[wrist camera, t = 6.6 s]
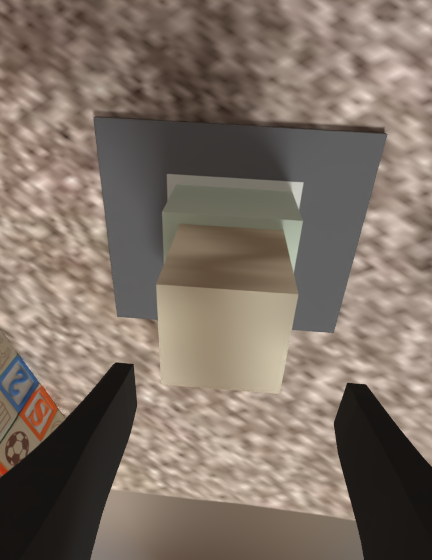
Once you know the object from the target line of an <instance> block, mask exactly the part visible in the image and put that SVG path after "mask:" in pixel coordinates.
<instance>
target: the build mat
mask: <svg viewBox="0 0 432 560" xmlns="http://www.w3.org/2000/svg"><path fill="white" fill-rule="evenodd" d="M94 126H95V134H96V143H97V151H98V159H99V168H100V176H101V184H102V193H103V201H104V209H105V218H106V226H107V234H108V243H109V251H110V259H111V268H112V276H113V284H114V293H115V301H116V309H117V317H127V318H141V319H154V320H158V311H157V291H156V284H157V281H158V278H159V276H160V273H161V271H162V268H163V265H164V253H163V225H162V211H163V209H164V207H165V205H166V203H167V201H168V200H169V198H170V196H171V194H172V192H173V190H174V188H175V186H176V185H177V184H180V185H196V186H212V187H228V188H244V189H260V190H276V191H292V192H293V195H294V198H295V200H296V203H297V206H298V209H299V211H300V214H301V217H302V220H303V224H302V229H301V235H300V241H299V246H298V252H297V257H296V263H295V269H294V277H295V282H296V286H297V290H298V300H297V305H296V310H295V315H294V321H293V326H292V330H301V331H314V332H328V333H334V329H335V326H336V322H337V318H338V315H339V311H340V307H341V304H342V300H343V296H344V292H345V289H346V285H347V281H348V278H349V274H350V270H351V267H352V263H353V259H354V256H355V252H356V248H357V244H358V241H359V237H360V233H361V230H362V226H363V222H364V219H365V215H366V211H367V207H368V204H369V200H370V196H371V193H372V189H373V185H374V182H375V178H376V174H377V171H378V167H379V163H380V159H381V156H382V152H383V148H384V145H385V141H386V137H387V134H386V133H374V132H357V131H339V130H322V129H304V128H287V127H269V126H252V125H234V124H217V123H199V122H182V121H164V120H147V119H129V118H112V117H94Z"/></svg>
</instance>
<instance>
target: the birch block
mask: <svg viewBox="0 0 432 560" xmlns="http://www.w3.org/2000/svg"><path fill="white" fill-rule="evenodd" d="M156 291H157V311H158V330H159V350H160V370H161V384H163V385H175V386H188V387H201V388H213V389H226V390H239V391H251V392H264V393H276V394H280V389H281V384H282V378H283V373H284V368H285V363H286V357H287V352H288V347H289V342H290V336H291V331H292V326H293V321H294V315H295V310H296V305H297V300H298V290H297V286H296V282H295V277H294V273H293V269H292V264H291V260H290V256H289V251H288V247H287V243H286V238H285V234H284V230H269V229H254V228H238V227H223V226H207V225H192V224H179V227H178V229H177V232H176V234H175V237H174V240H173V242H172V245H171V247H170V250H169V253H168V255H167V258H166V260H165V263H164V265H163V268H162V271H161V273H160V276H159V278H158V281H157V284H156Z"/></svg>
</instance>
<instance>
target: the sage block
mask: <svg viewBox="0 0 432 560" xmlns="http://www.w3.org/2000/svg"><path fill="white" fill-rule="evenodd" d="M179 224H192V225H207V226H223V227H238V228H254V229H269V230H284V234H285V238H286V243H287V247H288V251H289V256H290V260H291V264H292V269H293V273H294V269H295V263H296V257H297V252H298V246H299V241H300V235H301V229H302V224H303V220H302V217H301V214H300V211H299V209H298V206H297V203H296V200H295V198H294V195H293V192H292V191H276V190H260V189H244V188H228V187H212V186H196V185H180V184H177V185H176V186H175V188H174V190H173V192H172V194H171V196H170V198H169V200H168V201H167V203H166V205H165V207H164V209H163V211H162V225H163V253H164V263H165V260H166V258H167V255H168V253H169V250H170V247H171V245H172V242H173V240H174V237H175V234H176V232H177V229H178V227H179Z"/></svg>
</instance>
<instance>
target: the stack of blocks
mask: <svg viewBox="0 0 432 560" xmlns="http://www.w3.org/2000/svg"><path fill="white" fill-rule="evenodd" d="M64 420H65V418H64V416H63V415H62V413H61V412H60V411H59V410H58V409H57V407H56V405H55V404H54V402H53V401H52V399H51V398H50V396H49V395H48V394H47V392H46V391H45V389H44V388H43V386H42V385H41V384H39V383H38V381H37V379H36V378H35V376H34V375H33V374H32V372H31V371H30V369H29V368H28V367H27V365H26V364H25V362H24V361H23V360H22V358H21V357H20V356H19V355H18V354H17V352H16V350H15V349H14V347H13V346H12V345H11V343H10V342H9V341H8V339H7V338H6V336H5V335H4V334H3V332H2V331H1V329H0V477H1V476H3V475H4V474H5V473H6V472H7V471H9V470H10V469H11V468H12V467H14V466H15V465H16V464H17V463H19V462H20V461H21V460H22V459H23V458H25V457H26V456H27V455H28V454H29V453H30V452H31V451H33V450H34V449H35V448H36V447H37V446H38V445H39V444H40V443H41V442H42V441H44V440H45V439H46V438H47V437H48V436H49V435H50V434H51V433H52V432H53V431H54V430H55V429H56V428H57V427H58V426H59V425H60V424H61V423H62V422H63V421H64Z"/></svg>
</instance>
